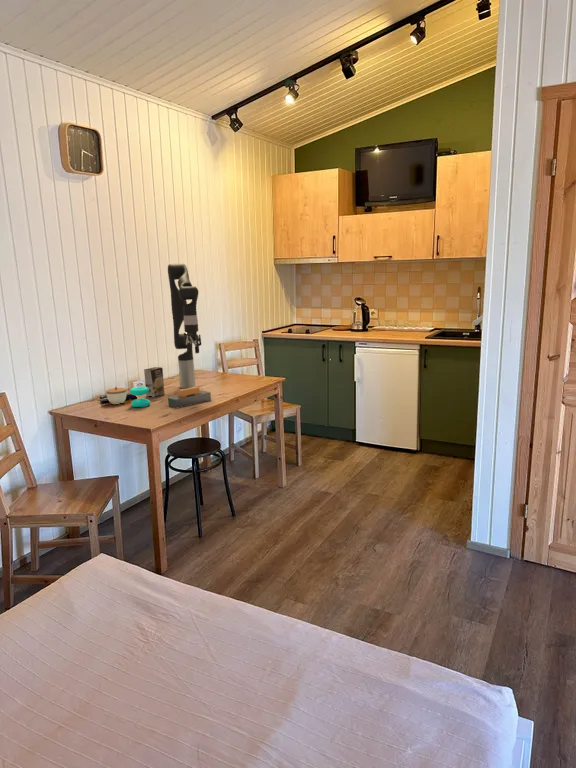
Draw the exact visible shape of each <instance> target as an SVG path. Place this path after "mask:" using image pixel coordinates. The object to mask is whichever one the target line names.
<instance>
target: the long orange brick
mask: <svg viewBox="0 0 576 768" xmlns="http://www.w3.org/2000/svg"><path fill="white" fill-rule="evenodd" d="M199 391H200V386H195V387H191V388H180V389H178V390H177V392H178V395H179V397H181V398H183V397H187V395H191V394H193V395H197V394H200V392H199Z"/></svg>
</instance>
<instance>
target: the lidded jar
mask: <svg viewBox="0 0 576 768" xmlns="http://www.w3.org/2000/svg"><path fill="white" fill-rule="evenodd" d="M105 393H106V398H107V401H109V403H110V404H111V405H112V404H119V403H123V404H124V402H126V399H127V388H125V387H117V386H115V387H114V388H108V389H107V390H106V391H105ZM119 405H120V404H119Z"/></svg>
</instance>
